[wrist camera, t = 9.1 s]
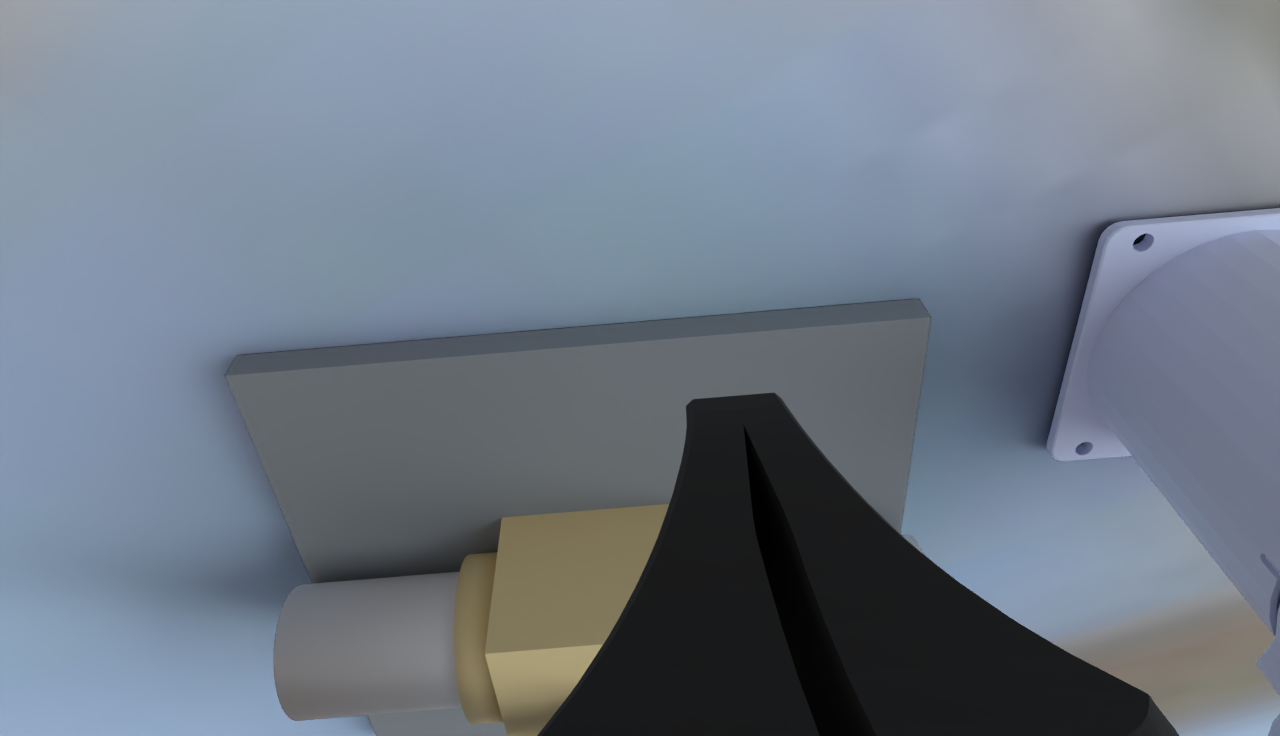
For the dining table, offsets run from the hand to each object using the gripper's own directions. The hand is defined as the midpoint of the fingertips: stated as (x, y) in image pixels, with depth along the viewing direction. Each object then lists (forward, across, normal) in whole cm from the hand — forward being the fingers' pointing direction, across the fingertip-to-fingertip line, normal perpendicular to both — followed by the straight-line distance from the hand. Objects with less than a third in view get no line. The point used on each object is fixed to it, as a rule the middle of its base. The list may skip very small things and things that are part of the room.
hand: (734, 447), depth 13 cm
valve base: (+10, +3, +13) cm, 17 cm away
